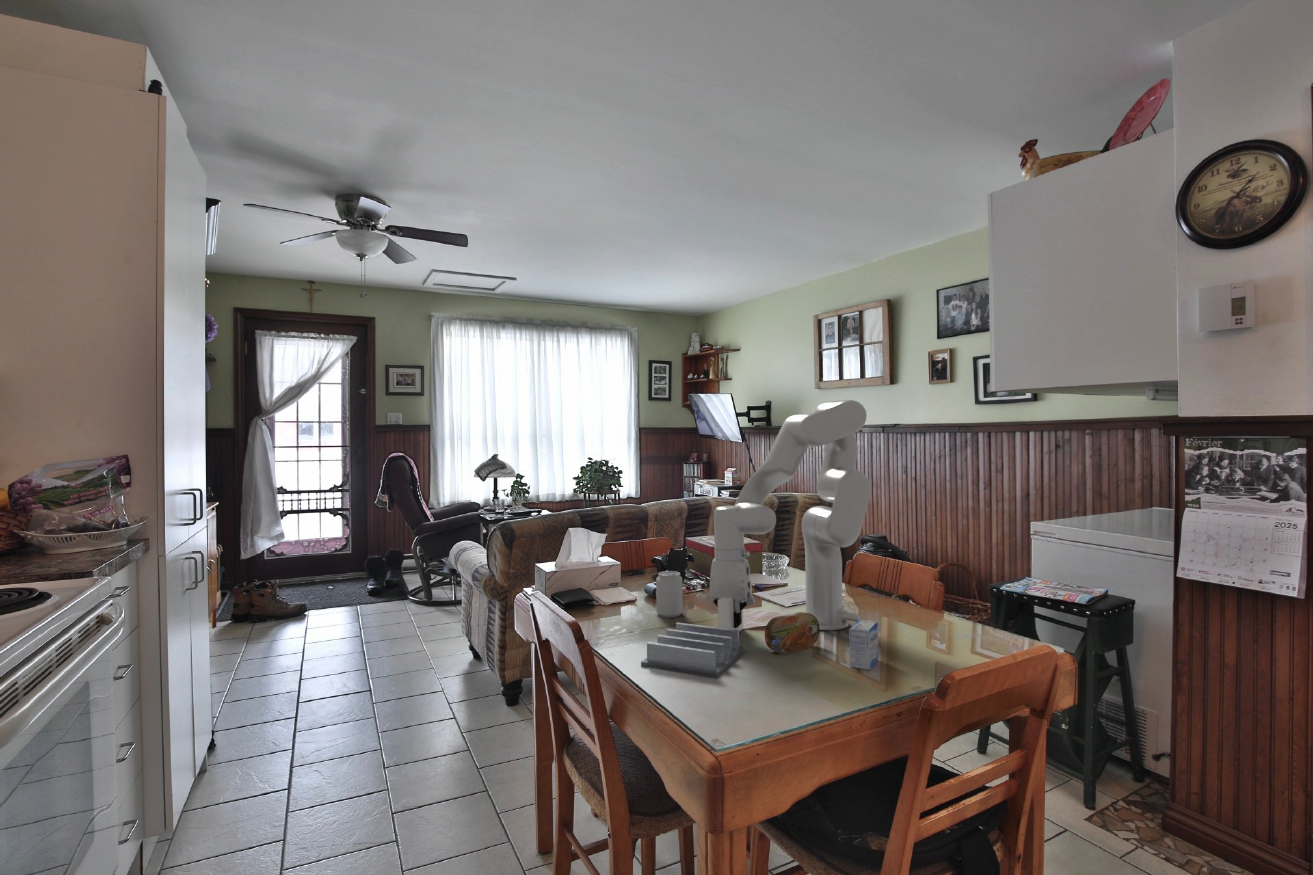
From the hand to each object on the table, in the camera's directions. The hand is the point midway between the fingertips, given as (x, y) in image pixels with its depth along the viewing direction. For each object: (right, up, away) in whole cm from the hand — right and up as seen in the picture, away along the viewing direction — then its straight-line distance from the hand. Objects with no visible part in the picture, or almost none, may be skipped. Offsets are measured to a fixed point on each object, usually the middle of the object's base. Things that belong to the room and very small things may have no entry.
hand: (731, 625), depth 166 cm
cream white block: (0, -2, 0) cm, 2 cm away
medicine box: (+27, -3, -21) cm, 35 cm away
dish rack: (-10, -3, -16) cm, 19 cm away
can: (-15, -3, +19) cm, 25 cm away
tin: (+13, -3, -11) cm, 17 cm away
